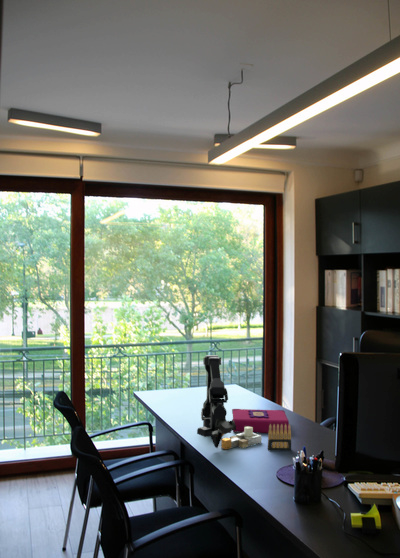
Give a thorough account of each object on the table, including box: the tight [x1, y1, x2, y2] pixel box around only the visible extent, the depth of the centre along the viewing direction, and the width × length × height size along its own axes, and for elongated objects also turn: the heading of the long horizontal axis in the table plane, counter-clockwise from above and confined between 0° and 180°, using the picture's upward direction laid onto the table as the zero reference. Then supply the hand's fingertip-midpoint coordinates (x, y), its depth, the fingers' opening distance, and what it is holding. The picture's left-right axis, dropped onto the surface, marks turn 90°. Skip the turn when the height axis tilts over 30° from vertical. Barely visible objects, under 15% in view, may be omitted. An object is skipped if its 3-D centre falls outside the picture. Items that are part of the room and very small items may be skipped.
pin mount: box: [229, 435, 248, 449], centre depth 250 cm, size 9×3×3 cm, turn 39°
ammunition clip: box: [267, 423, 292, 452], centre depth 244 cm, size 11×2×12 cm, turn 93°
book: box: [231, 408, 290, 435], centre depth 279 cm, size 21×28×8 cm
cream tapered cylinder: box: [243, 427, 253, 440], centre depth 254 cm, size 4×4×7 cm
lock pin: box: [220, 437, 241, 450], centre depth 247 cm, size 3×10×4 cm, turn 129°
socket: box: [235, 432, 262, 447], centre depth 254 cm, size 9×9×4 cm
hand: (216, 447), depth 242 cm, fingers closed
